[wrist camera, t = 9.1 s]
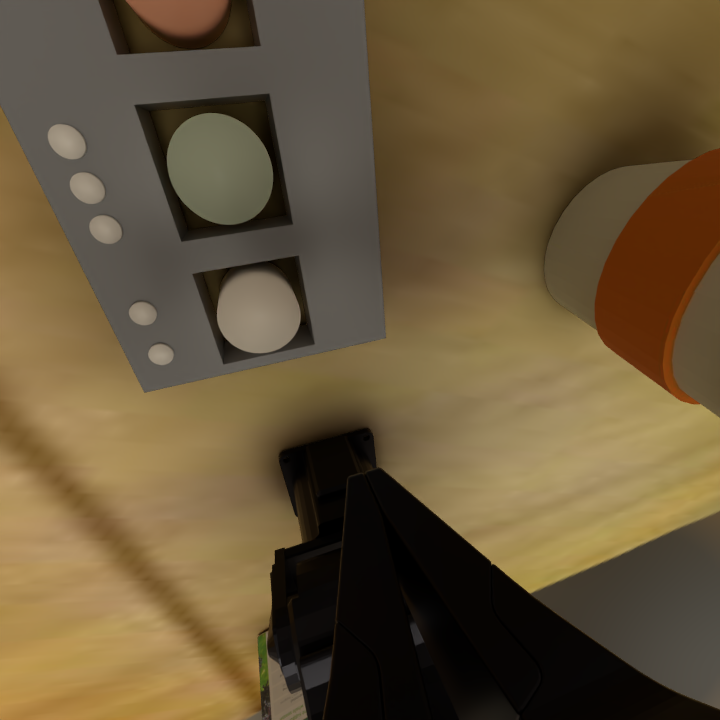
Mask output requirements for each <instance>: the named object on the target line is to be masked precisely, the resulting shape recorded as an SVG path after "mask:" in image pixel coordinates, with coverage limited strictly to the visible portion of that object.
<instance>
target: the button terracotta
mask: <svg viewBox="0 0 720 720" xmlns="http://www.w3.org/2000/svg"><path fill="white" fill-rule="evenodd" d="M126 1H127V3H128V4H129V5H130V7H131V8H132V9H133V11H134V12H135V13H136V15H137V16H138V17H139V19H140V20H141V21H142V22H143V23H144V24H145V26H146V27H147V28H149V29H150V30H151V31H152V32H153V33H154V34H155V35H157V36H158V37H159V38H161V39H162V40H164V41H166V42H168V43H170V44H172V45H174V46H178V47H181V48H187V49H195V48H201V47H204V46H207V45H209V44H211V43H212V42H214V41H215V40H216V39H217V38H218V37H219V36H220V35H221V34H222V32H223V30H224V29H225V27H226V25H227V22H228V19H229V16H230V11H231V0H126Z"/></svg>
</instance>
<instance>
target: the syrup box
mask: <svg viewBox="0 0 720 720" xmlns="http://www.w3.org/2000/svg"><path fill="white" fill-rule="evenodd" d="M268 631H269V630H268ZM268 631H266V632H264V633H262V634H260V635H259V637H258V653H259V672H260V690H261V706H262V720H308V718H307V713H306V708H305V703H304V697H303V692H302V690H300V691H298V692H296V693H293V694H291V693H290V692H289V690H288V687H287V685H286V681H285V678H284V676H283V674H282V672H281V668H280V665H279V664H278V663H277V662H275V661H274V660H273V659H271V658H270V657H269V655H268V650H267V638H268Z"/></svg>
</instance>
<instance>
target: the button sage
mask: <svg viewBox="0 0 720 720" xmlns="http://www.w3.org/2000/svg"><path fill="white" fill-rule="evenodd" d="M167 167H168V173H169V177H170V180H171V183H172V185H173V187H174V189H175V191H176V193H177V194H178V196H179V197H180V199H181V200H182V201H183V202H184V204H185V205H186V206H187V207H188V208H189V209H190V210H192V211H193V212H194V213H196V214H197V215H198V216H200V217H202V218H204V219H206V220H208V221H211V222H214V223H218V224H224V225H233V224H239V223H243V222H246V221H248V220H250V219H252V218H253V217H255V216H256V215H257V214H258V213H259V212H260V211H261V210H262V209H263V208H264V207H265V205H266V203H267V202H268V200H269V197H270V195H271V191H272V186H273V170H272V164H271V160H270V157H269V155H268V152H267V150H266V148H265V146H264V145H263V143H262V142H261V140H260V139H259V138H258V136H257V135H256V134H255V133H254V132H253V131H252V130H251V129H250V128H249V127H247V126H246V125H245V124H244V123H242V122H240V121H239V120H237V119H235V118H232V117H230V116H227V115H223V114H218V113H205V114H199V115H197V116H194V117H192V118H190V119H188V120H186V121H185V122H184V123H182V124H181V125H180V126H179V127H178V129H177V130H176V131H175V133H174V134H173V136H172V138H171V141H170V143H169V147H168V152H167Z"/></svg>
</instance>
